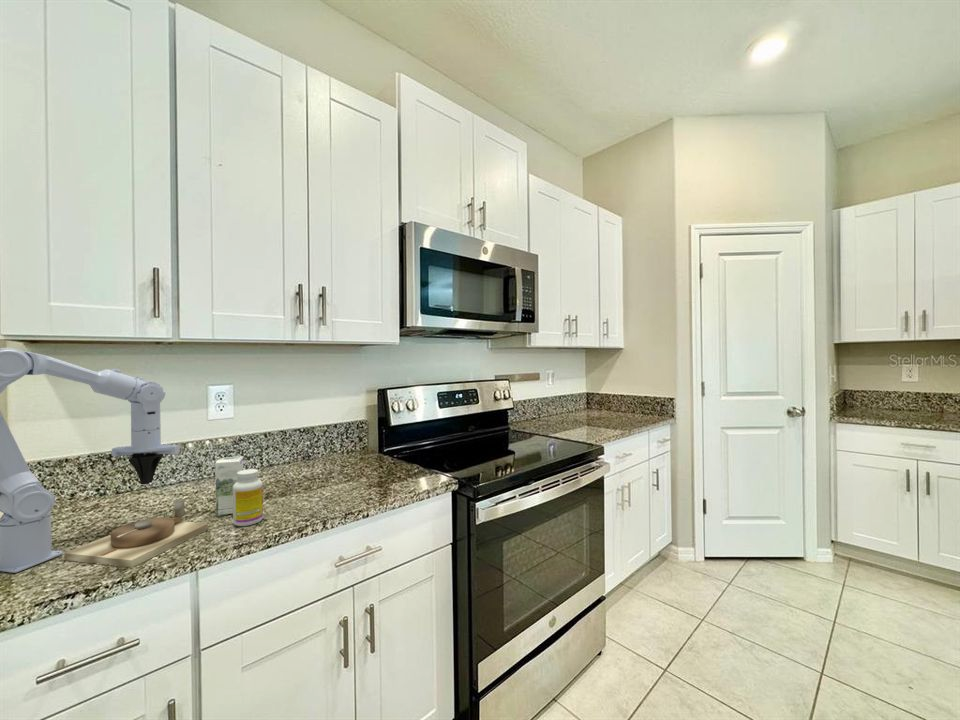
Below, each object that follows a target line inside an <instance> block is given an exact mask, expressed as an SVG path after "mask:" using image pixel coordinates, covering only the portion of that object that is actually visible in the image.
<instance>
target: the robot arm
mask: <svg viewBox="0 0 960 720" xmlns="http://www.w3.org/2000/svg"><path fill="white" fill-rule="evenodd" d="M36 375H48V376H53V377H56V378H59V379H60V378H61V379H65V380H69V381H74V382H77V383H81V384H85V385H89V387H90V388H91V389H92V391H93V393H97V394H101V395H104V396H108V397H112V398H116V399H119V400H123V401H128V402H129V403H130V445H128V446H127V445H126V446H115V447H113V448H111V457H118V456H131V457H129V458H128V463H130V465H131V466H132V467H133V468H134V470H135V472H136V474H137V476H138V478H139V482H140V485H149V484H151V483H153V480H154V477H155V472H156V470H157V468H158V466H159V464H160V462H161V460H162V458H163V457H164V455H176V454H179V453H180V452H181V451H180V448H181V447H180V446H181V445H180V444H161V443H162V440H161V438H162V437H161V436H162V435H161V403H162V401H163V400H164V399H165V396H166V391H164V388H163V387H162V386H161V385H160V384H159V383H157V382H155V381H144V378H143V377H141V376H136V377H135V376H132V375H131V376H130V375H128V374H125V373H122V370H121V369H118V368H112V369H107V368H106V369H103V370H100V371H95V370H91V369H88V368H85V367H83V366H80V365H77V364H74V363H70V362H68V361H64V360H62V359H59V358H55V357H52V356H49V355H46V354H40V353H35V352H31V351H22V350H20V349H17V348H14V347H13V348H12V347H1V348H0V395H1V394H2V393H3V391H5V390H6V389H7V387H8V386H10V385H11V384H13V383H15V382H16V381H18V380H20V379H21V378H23V377H25V376H36ZM55 501H56V498H55V495H54V493H52V491H50V490H48V489H46V488H45V487H43V486H42V484H41V482H40V480H39V479H38V478H37V477H36V476H35V475H34V473H33V472H32V471H31V470H30V467H29V466H28V464H27V461H26V460H25V457H24V456H23V454H22V452H21V449H20V447H19V445H18V443H17V442H16V439H15V437H14V435H13V433H12V431H11V430H10V427H9V425H8V423H7V421H6V419H5V417H4V415H3V413H2V410H0V512H1V513H3V514H2V515H1V516H0V572H6V573H13V574H15V573H18V572H22V571H23V570H26V569H30V568H31V567H34V566H36V565H40V564H41V563H44V562H46V561H49V560H51V559H54V558H57V557H59V556H62V555H63V554H64V551H61V550H53V549H52V548H53V547H52V546H53V545H52V511H51V510H52V509H53V508H54V505H55Z"/></svg>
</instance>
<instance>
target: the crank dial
mask: <svg viewBox="0 0 960 720" xmlns="http://www.w3.org/2000/svg"><path fill="white" fill-rule="evenodd" d="M173 502H174V503H173V504H174V505H173V506H174V507H173V509H174V511H173V512H174V516H172V517H165V516H164V517H153V518H152V517H151V518H145V519H141V520H136V521H133V522H130V523H126V524H123V525H122V526H120V527H117V528H115V529H114V530H112V531H111V532H110V535H111V545H112V546H113V547H119V548H124V547H134V546H140V545H144V544H148V543H152V542H155V541H158V540H160V539H163V538H165V537H167V536H169V535H170V534H172V533H173V532H174V523H176V522H178V521H183V517H185V513H186V511H185V498H177V499H174V501H173Z"/></svg>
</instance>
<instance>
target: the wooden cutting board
mask: <svg viewBox="0 0 960 720" xmlns="http://www.w3.org/2000/svg"><path fill="white" fill-rule="evenodd" d="M206 530H207V531H209V523H204V522H194V521H193V522H192V521H183V520H181V521H178V522H176V523H174V532H173V533H172V534H170V535H169V536H167V537H165V538H163V539H160V540H158V541H155V542H152V543H148V544H144V545H140V546H134V547H124V548H119V547H113V546H112V545H111V534H109V535H107V536H104V537H101V538H99V539H96V540H94V541H91V542H88V543H86V544H83V545H82V546H78V547H76V548H74V549H71V550H68V551H66V552H63V554H64V557H63V558H64V561H68V562H76V561H77V563H84V562H85V563H86V564H93V563H99V564H98V565H102V564H111V565H117V566H116V567H119V566H121V568H129V569H130V568H131V569H132V568H134V567H136V566H137V565H140V564H142V563H143V562H147V561H148V560H150V559H153V558H154V557H156V556H158V555H161V554H162V553H164V552H167V551H168V550H171V549H172V548H174V547H176V546H178V544H179V545H180V543H181V544H182V542H183V543H184V541H185V542H187V541H189V540H190V538H191V539H193V538H195V537H196V535H197V536H199V535H200V533H201V534H202V532H203V533H205V532H206ZM204 531H205V532H204ZM198 534H199V535H198ZM186 540H187V541H186ZM111 565H110V566H111Z"/></svg>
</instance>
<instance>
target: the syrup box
mask: <svg viewBox="0 0 960 720" xmlns="http://www.w3.org/2000/svg"><path fill="white" fill-rule="evenodd" d="M214 466H215V467H214V470H215V472H214V473H215V475H214V476H215V516H216V517H221V515H222V516H229V515H228V514H231V515H233V485H234V484H235V483H236V482H238V479H237V472H239V471H242V470H244V456H241V455H240V456H231V457H229V456H227V457H220V458H218V459H217V460H216V461H215V463H214Z"/></svg>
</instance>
